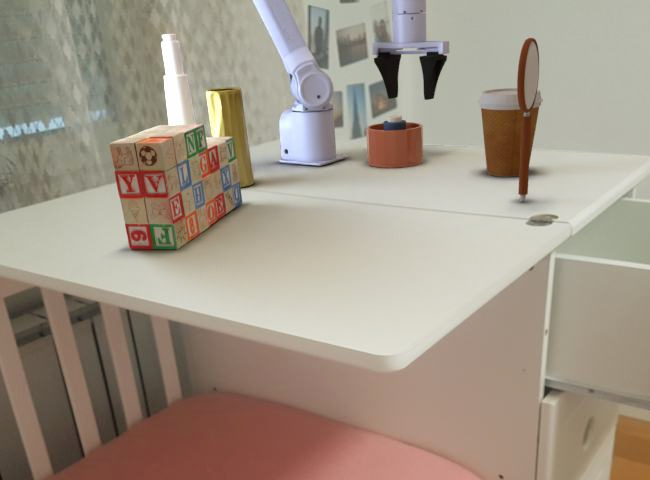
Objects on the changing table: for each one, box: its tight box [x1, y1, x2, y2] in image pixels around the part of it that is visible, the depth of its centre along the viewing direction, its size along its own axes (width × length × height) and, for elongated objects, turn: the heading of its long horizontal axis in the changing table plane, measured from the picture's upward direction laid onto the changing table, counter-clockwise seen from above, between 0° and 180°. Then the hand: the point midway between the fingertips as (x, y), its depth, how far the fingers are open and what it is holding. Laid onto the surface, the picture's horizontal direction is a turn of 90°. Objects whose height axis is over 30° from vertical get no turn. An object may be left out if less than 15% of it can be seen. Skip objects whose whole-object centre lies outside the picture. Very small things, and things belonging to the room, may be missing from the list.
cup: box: [365, 121, 424, 169], centre depth 122 cm, size 9×9×6 cm
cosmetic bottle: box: [160, 33, 197, 125], centre depth 114 cm, size 6×6×22 cm
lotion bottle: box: [382, 114, 407, 130], centre depth 121 cm, size 4×4×7 cm
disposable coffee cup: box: [477, 87, 544, 178], centre depth 109 cm, size 10×10×12 cm
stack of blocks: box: [109, 123, 243, 250], centre depth 90 cm, size 21×6×12 cm, turn 168°
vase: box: [205, 86, 256, 188], centre depth 110 cm, size 6×6×14 cm
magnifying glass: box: [516, 37, 540, 202], centre depth 90 cm, size 9×2×20 cm, turn 155°
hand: (410, 98), depth 126 cm, fingers open, 7 cm apart
